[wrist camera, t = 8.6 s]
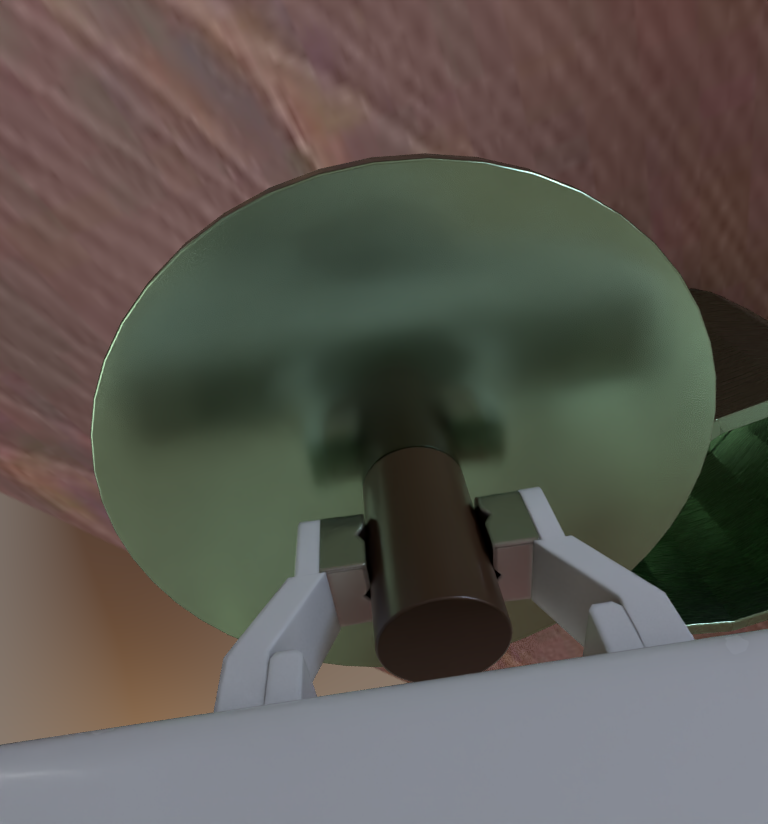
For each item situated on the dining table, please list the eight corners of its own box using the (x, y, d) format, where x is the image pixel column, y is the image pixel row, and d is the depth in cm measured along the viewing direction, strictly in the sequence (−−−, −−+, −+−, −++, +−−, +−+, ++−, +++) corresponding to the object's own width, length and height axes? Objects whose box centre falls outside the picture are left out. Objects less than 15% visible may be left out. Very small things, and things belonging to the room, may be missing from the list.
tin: (550, 522, 37) (621, 666, 28) (494, 350, 30) (567, 473, 21) (763, 448, 35) (909, 577, 26) (761, 244, 28) (964, 330, 19)
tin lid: (286, 682, 20) (272, 876, 15) (-43, 327, 12) (-290, 502, 7) (708, 546, 18) (845, 722, 13) (653, 4, 10) (957, -50, 5)
